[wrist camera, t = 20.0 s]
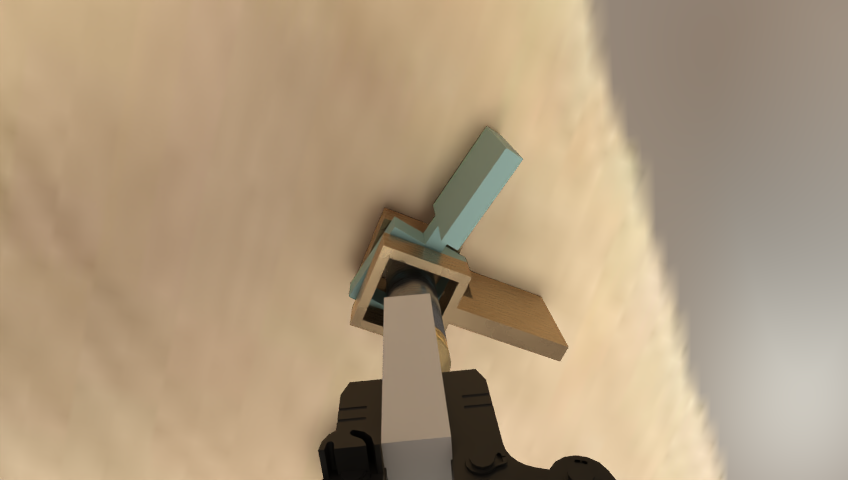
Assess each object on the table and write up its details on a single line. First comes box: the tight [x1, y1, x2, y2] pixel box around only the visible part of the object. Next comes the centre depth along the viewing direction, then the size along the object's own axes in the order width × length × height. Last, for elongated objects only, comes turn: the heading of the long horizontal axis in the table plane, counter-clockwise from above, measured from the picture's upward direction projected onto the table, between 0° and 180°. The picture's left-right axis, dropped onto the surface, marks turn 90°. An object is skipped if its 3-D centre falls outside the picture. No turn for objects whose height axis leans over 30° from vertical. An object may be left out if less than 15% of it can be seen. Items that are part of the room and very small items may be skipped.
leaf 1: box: [349, 126, 523, 310], centre depth 36 cm, size 14×6×7 cm, turn 147°
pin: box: [386, 258, 451, 372], centre depth 34 cm, size 3×3×14 cm
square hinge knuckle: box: [350, 208, 568, 361], centre depth 38 cm, size 14×6×7 cm, turn 67°
